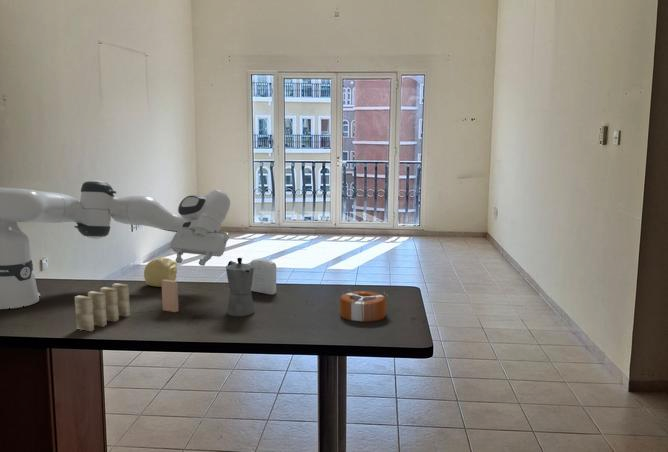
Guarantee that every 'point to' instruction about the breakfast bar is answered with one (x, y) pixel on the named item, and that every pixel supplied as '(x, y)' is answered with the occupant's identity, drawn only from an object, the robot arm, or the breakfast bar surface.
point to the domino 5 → (170, 295)
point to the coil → (363, 306)
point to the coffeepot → (240, 288)
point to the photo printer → (264, 276)
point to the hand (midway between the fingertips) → (189, 263)
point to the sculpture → (160, 271)
